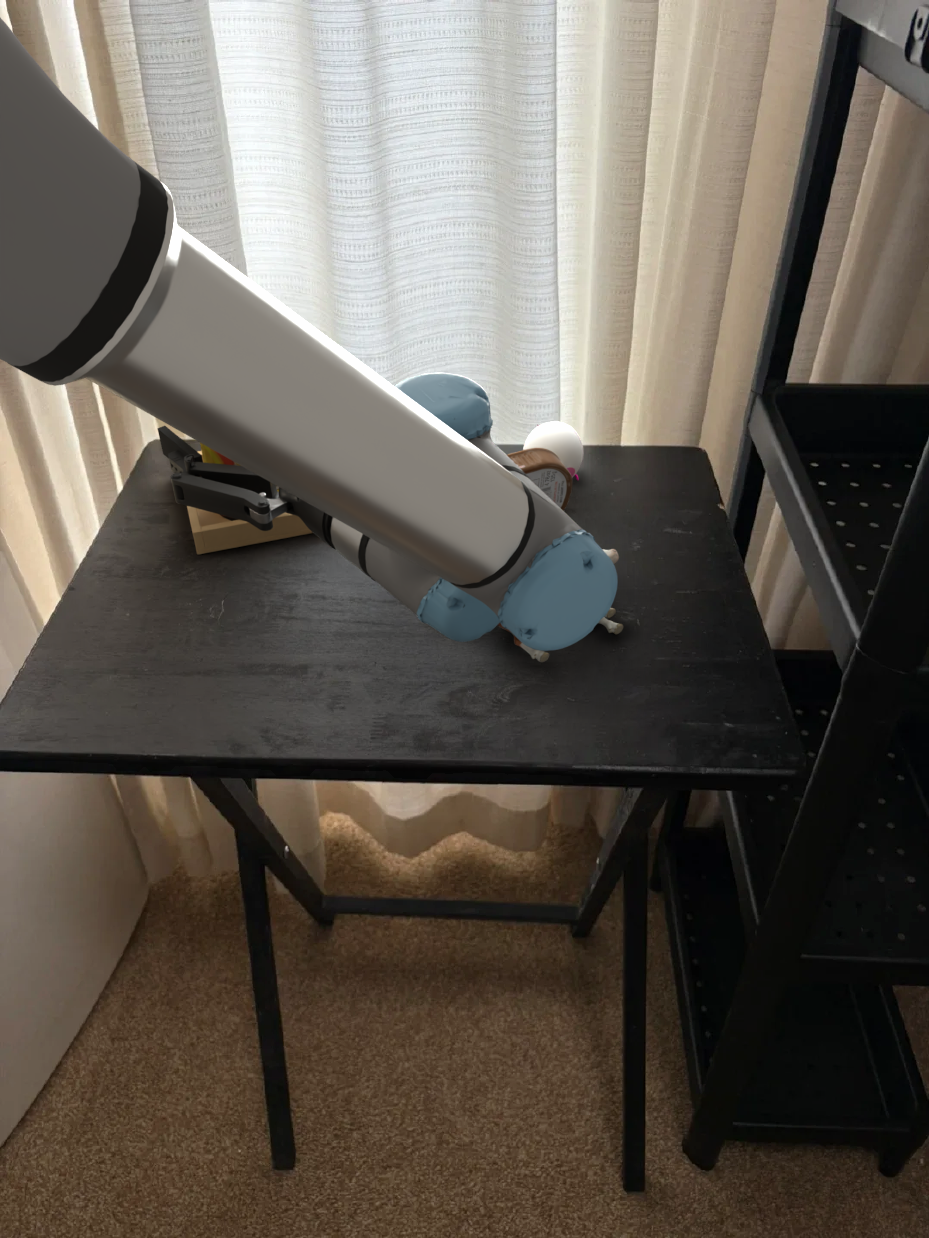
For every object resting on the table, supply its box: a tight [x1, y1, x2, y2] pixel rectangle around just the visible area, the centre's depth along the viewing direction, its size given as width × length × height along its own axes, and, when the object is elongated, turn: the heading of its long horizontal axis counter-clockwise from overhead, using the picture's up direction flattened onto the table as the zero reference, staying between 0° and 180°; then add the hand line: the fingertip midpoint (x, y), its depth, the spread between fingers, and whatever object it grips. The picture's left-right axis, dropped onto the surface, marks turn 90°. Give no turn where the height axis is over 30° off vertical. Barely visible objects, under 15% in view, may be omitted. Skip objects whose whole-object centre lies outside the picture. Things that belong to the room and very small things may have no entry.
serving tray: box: [186, 450, 314, 555], centre depth 101 cm, size 14×14×2 cm
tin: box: [506, 448, 573, 512], centre depth 95 cm, size 15×3×8 cm, turn 116°
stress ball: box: [522, 420, 584, 481], centre depth 104 cm, size 8×8×7 cm
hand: (228, 414), depth 98 cm, fingers open, 13 cm apart
